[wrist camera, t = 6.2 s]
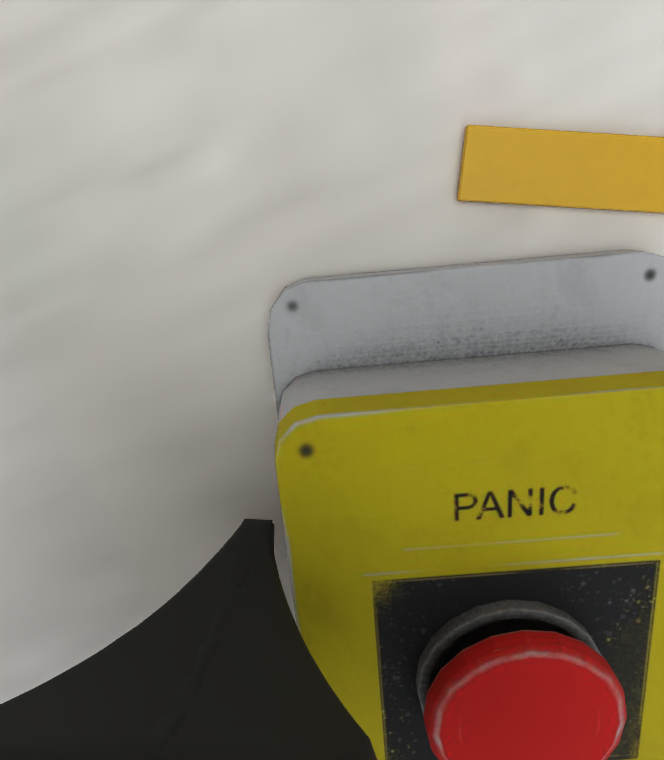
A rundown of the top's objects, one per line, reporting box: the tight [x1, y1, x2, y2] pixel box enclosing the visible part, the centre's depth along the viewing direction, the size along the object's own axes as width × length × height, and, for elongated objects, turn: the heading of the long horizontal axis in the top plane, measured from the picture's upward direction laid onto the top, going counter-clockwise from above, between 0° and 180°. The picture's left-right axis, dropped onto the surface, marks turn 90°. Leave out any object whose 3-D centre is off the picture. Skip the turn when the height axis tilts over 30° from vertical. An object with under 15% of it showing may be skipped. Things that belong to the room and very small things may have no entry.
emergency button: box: [268, 250, 664, 760], centre depth 11 cm, size 9×4×15 cm
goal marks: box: [457, 125, 664, 213], centre depth 13 cm, size 20×11×1 cm, turn 177°
